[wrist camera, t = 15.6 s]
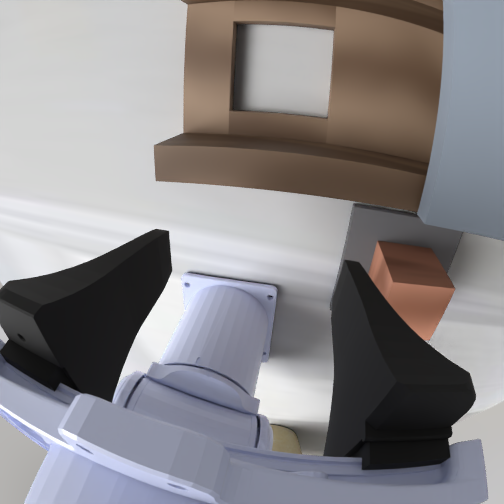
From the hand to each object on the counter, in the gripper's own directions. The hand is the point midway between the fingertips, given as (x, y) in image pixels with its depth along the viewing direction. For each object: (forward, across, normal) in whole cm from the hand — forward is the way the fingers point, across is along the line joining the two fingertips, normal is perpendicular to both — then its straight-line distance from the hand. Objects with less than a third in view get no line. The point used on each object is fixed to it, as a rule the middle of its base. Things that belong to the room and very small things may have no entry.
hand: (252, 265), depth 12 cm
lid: (+4, -11, -8) cm, 15 cm away
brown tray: (+10, -5, -8) cm, 14 cm away
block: (+9, -10, +5) cm, 14 cm away
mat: (+9, -10, +5) cm, 14 cm away
